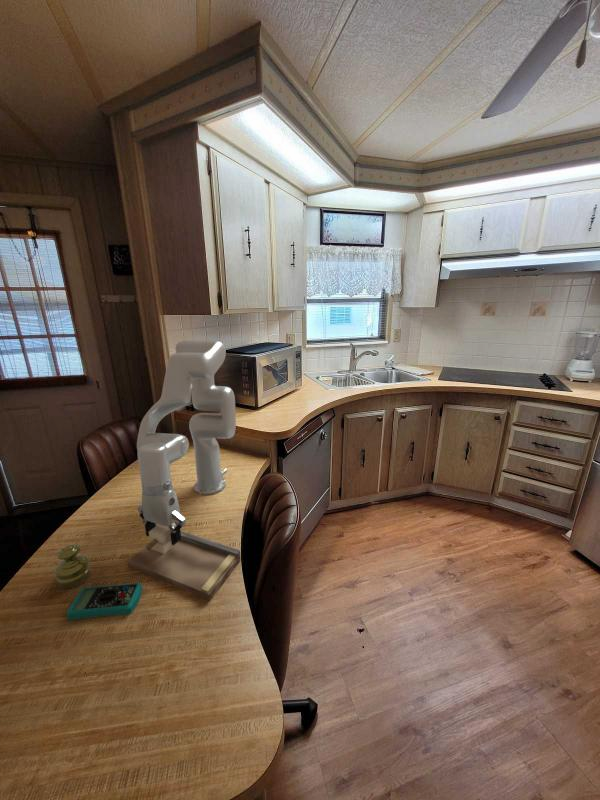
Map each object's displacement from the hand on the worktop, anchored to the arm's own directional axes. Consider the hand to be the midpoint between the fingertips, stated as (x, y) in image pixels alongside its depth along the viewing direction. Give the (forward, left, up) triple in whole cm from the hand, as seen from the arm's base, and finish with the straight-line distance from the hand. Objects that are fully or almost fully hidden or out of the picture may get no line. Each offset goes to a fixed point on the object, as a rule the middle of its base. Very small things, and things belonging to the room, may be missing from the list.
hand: (163, 537), depth 90 cm
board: (+2, +9, -5) cm, 10 cm away
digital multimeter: (+19, 0, -6) cm, 19 cm away
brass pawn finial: (+17, -15, -5) cm, 23 cm away
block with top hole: (+1, 0, -3) cm, 3 cm away
